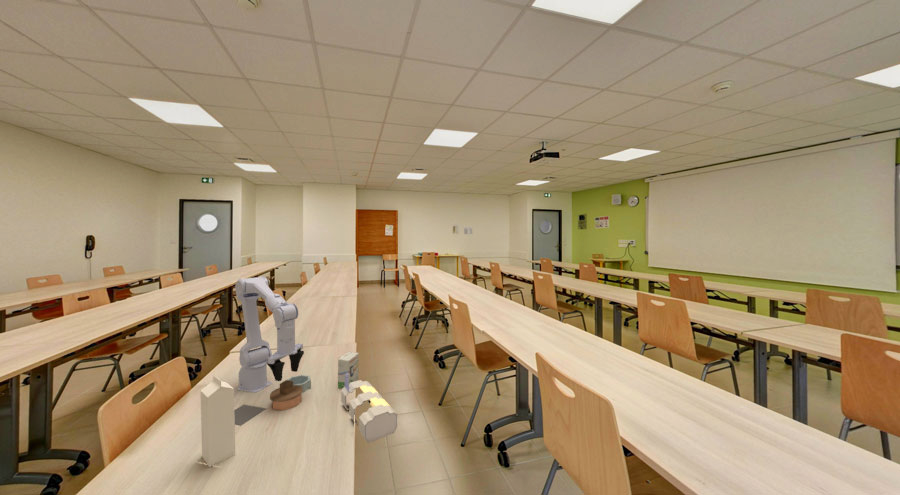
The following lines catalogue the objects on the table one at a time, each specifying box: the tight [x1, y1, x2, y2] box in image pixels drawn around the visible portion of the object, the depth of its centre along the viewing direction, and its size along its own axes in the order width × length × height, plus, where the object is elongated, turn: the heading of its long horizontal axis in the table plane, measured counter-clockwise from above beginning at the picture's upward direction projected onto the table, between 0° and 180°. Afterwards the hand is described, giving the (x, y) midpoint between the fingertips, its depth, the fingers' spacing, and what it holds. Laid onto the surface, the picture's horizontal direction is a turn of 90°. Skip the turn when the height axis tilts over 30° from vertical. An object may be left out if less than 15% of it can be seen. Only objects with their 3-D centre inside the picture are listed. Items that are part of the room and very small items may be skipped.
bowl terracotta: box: [272, 393, 302, 411], centre depth 111 cm, size 9×9×4 cm
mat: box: [234, 404, 268, 427], centre depth 104 cm, size 10×10×1 cm
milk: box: [200, 374, 236, 468], centre depth 84 cm, size 6×6×22 cm
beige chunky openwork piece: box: [340, 373, 398, 444], centre depth 103 cm, size 25×10×13 cm, turn 35°
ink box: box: [337, 351, 360, 389], centre depth 126 cm, size 9×5×12 cm, turn 168°
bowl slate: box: [286, 374, 312, 393], centre depth 122 cm, size 9×9×4 cm
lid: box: [269, 379, 303, 402], centre depth 111 cm, size 10×10×4 cm
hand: (286, 375), depth 111 cm, fingers open, 7 cm apart
